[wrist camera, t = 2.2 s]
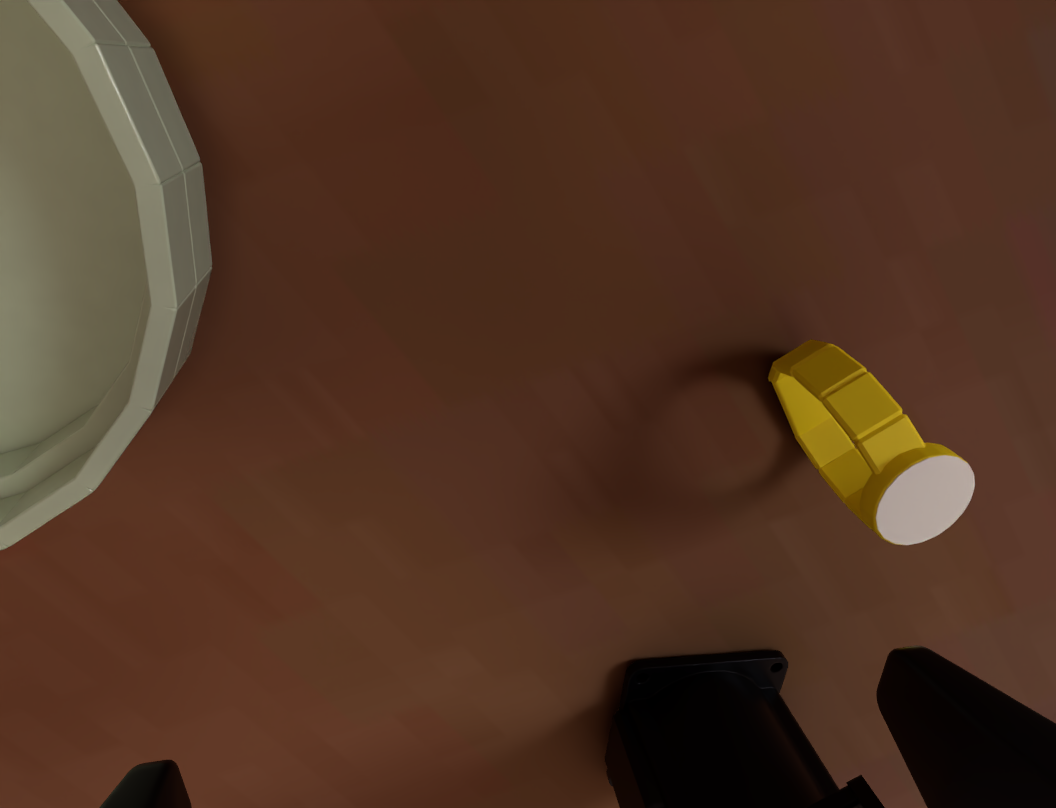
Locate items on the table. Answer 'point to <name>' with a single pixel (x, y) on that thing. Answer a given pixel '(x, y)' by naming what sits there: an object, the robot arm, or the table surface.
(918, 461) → the watch
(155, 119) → the bowl
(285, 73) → the table surface
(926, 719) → the robot arm
